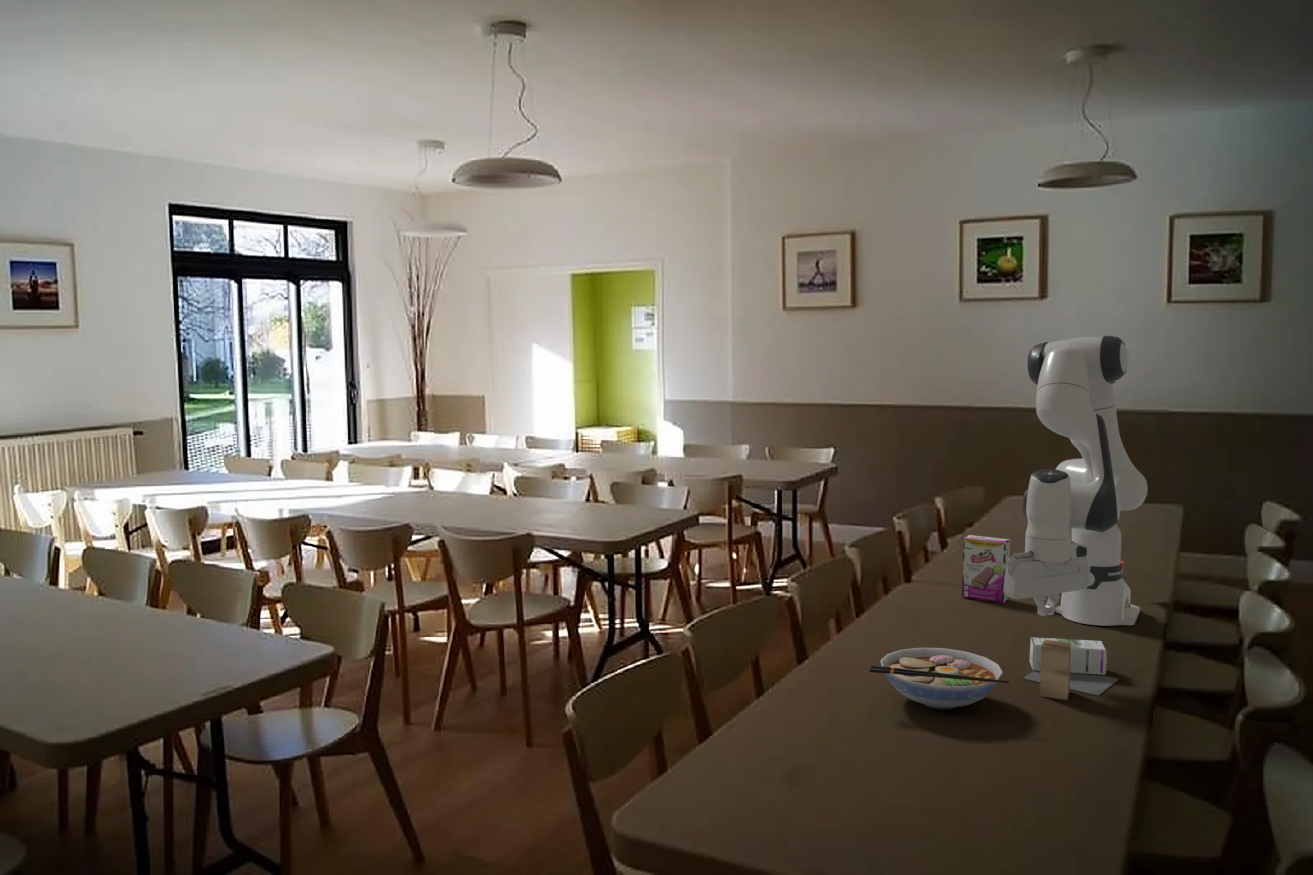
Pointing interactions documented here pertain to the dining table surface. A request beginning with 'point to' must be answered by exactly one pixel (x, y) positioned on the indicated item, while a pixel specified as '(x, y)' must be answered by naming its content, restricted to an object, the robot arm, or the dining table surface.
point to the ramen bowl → (940, 676)
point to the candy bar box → (985, 568)
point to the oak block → (1055, 669)
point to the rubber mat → (1082, 682)
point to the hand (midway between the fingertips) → (1045, 614)
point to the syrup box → (1075, 655)
